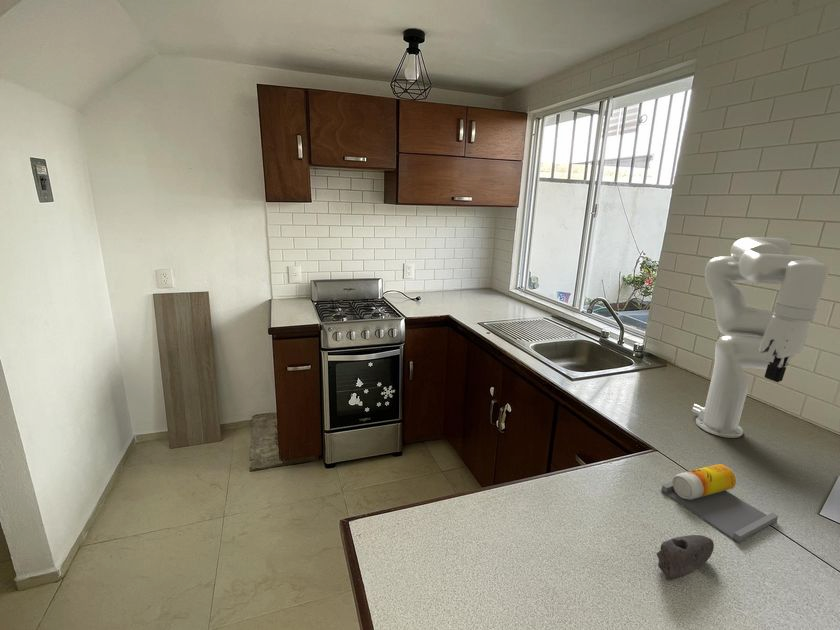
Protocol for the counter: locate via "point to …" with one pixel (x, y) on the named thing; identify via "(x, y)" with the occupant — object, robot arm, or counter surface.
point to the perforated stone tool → (684, 555)
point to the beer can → (704, 481)
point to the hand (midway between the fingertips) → (772, 379)
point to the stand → (725, 513)
